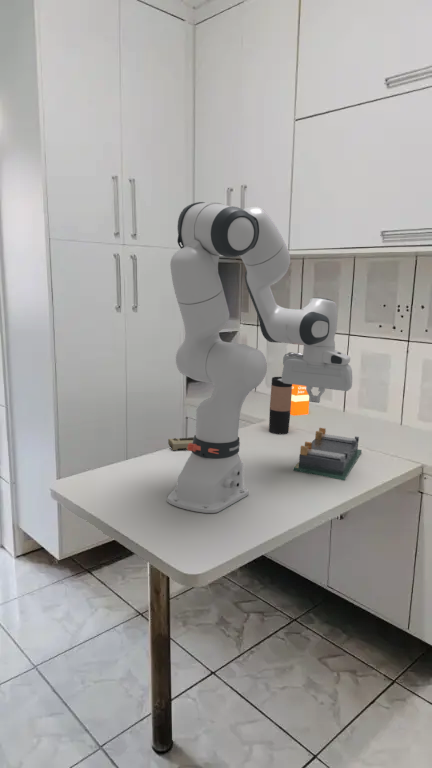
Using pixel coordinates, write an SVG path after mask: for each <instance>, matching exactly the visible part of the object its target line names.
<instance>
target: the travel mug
mask: <svg viewBox="0 0 432 768" xmlns="http://www.w3.org/2000/svg"><path fill="white" fill-rule="evenodd" d="M291 396H292V384H286V383H283V381H282V376H274V377H272V378H271V387H270V399H269V400H270V401H269V421H268V423H269V424H268V432H270V433H272V434H275V435H286V434H288V433H289V429H290V418H291V414H290V412H291Z"/></svg>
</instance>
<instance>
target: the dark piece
mask: <svg viewBox="0 0 432 768" xmlns="http://www.w3.org/2000/svg"><path fill="white" fill-rule="evenodd" d="M326 431H327V428H325V427H319V428H318V430H316V431H315V438H314V440H312V441H305V442H304V445H301V446H300V449H299V450H300V451H299V453H300V454H299V459H298V462H297V463H296V464H295V465H294V466H293V471H294V472H298V473H303V474H310V475H315V476H321V477H325V478H330V479H336V480H339V481H346V478H347V477H348V476H349V474H350V472H351V471H352V469H353V468H354V466H355V464H356V463H357V461H358V459H359V458H360V456H361V454H362V449H359V448H358V447H359V441H360V436H354V439H356V440H352V443H347V442H341V441H334V440H328V439H322V434H326V433H327V432H326ZM308 449H314V450H321V451H327V452H333V453H339V454H346V455H345V457H344V456H341V459H334V458H328V457H322V456H315V455H309V454H308ZM293 471H292V472H293Z"/></svg>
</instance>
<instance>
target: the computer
mask: <svg viewBox="0 0 432 768" xmlns="http://www.w3.org/2000/svg"><path fill="white" fill-rule="evenodd" d="M193 439H194V436H193V437H180V438H176V437H175V438H174V437H173V438H168V440H167V441H168V446H169V448H170V449H171V448H172V449H171V451H172V450H178V451H184V450H183V449H186V450H187V451H188V448H187V447H188V444H189V443H192V442H193ZM186 450H185V451H186Z"/></svg>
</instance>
